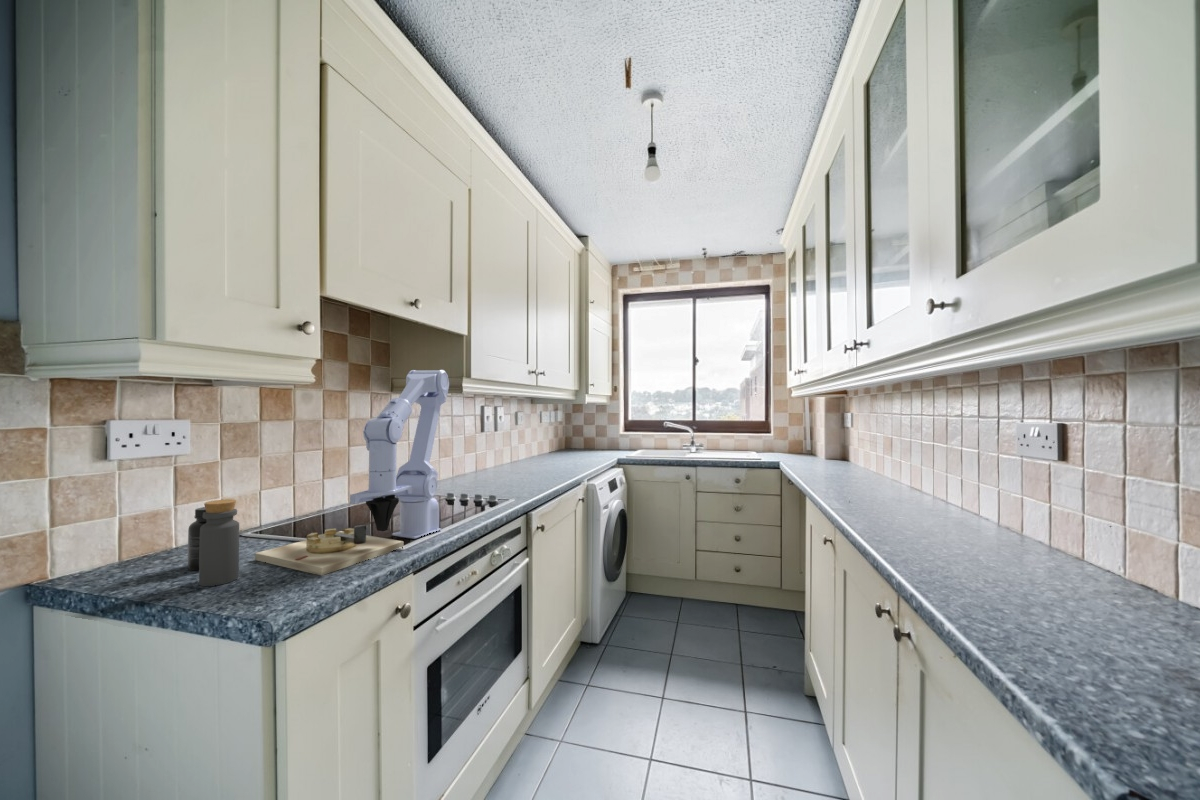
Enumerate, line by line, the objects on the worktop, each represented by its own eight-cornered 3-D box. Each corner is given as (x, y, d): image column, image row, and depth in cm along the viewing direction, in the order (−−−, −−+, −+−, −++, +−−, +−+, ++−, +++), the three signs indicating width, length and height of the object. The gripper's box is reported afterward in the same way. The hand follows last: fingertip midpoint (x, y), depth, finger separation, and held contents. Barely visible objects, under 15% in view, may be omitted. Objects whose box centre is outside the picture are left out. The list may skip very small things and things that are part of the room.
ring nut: (338, 538, 112) (338, 515, 112) (383, 546, 105) (383, 521, 105) (295, 549, 103) (296, 524, 103) (342, 559, 96) (342, 532, 96)
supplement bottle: (235, 563, 98) (236, 506, 99) (194, 573, 93) (195, 512, 93) (222, 558, 102) (223, 503, 102) (182, 566, 96) (183, 508, 97)
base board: (340, 536, 119) (340, 530, 119) (403, 547, 109) (403, 540, 110) (254, 560, 101) (255, 552, 101) (321, 575, 91) (321, 566, 91)
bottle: (205, 578, 90) (206, 500, 90) (242, 573, 93) (243, 497, 93) (193, 588, 85) (195, 505, 85) (233, 583, 87) (234, 503, 88)
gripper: (398, 466, 115) (397, 521, 115) (341, 473, 102) (340, 535, 102) (418, 467, 112) (417, 524, 111) (362, 475, 99) (361, 539, 99)
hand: (382, 530), depth 106 cm, fingers closed
